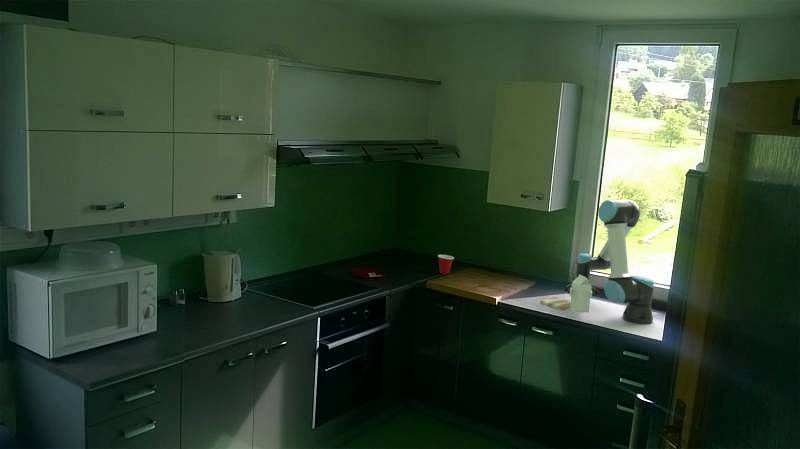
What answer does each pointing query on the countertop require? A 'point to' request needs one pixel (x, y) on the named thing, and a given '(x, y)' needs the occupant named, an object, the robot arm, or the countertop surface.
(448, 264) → the plastic cup
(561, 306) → the yellow ridged slab
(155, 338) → the countertop surface
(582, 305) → the milk carton
